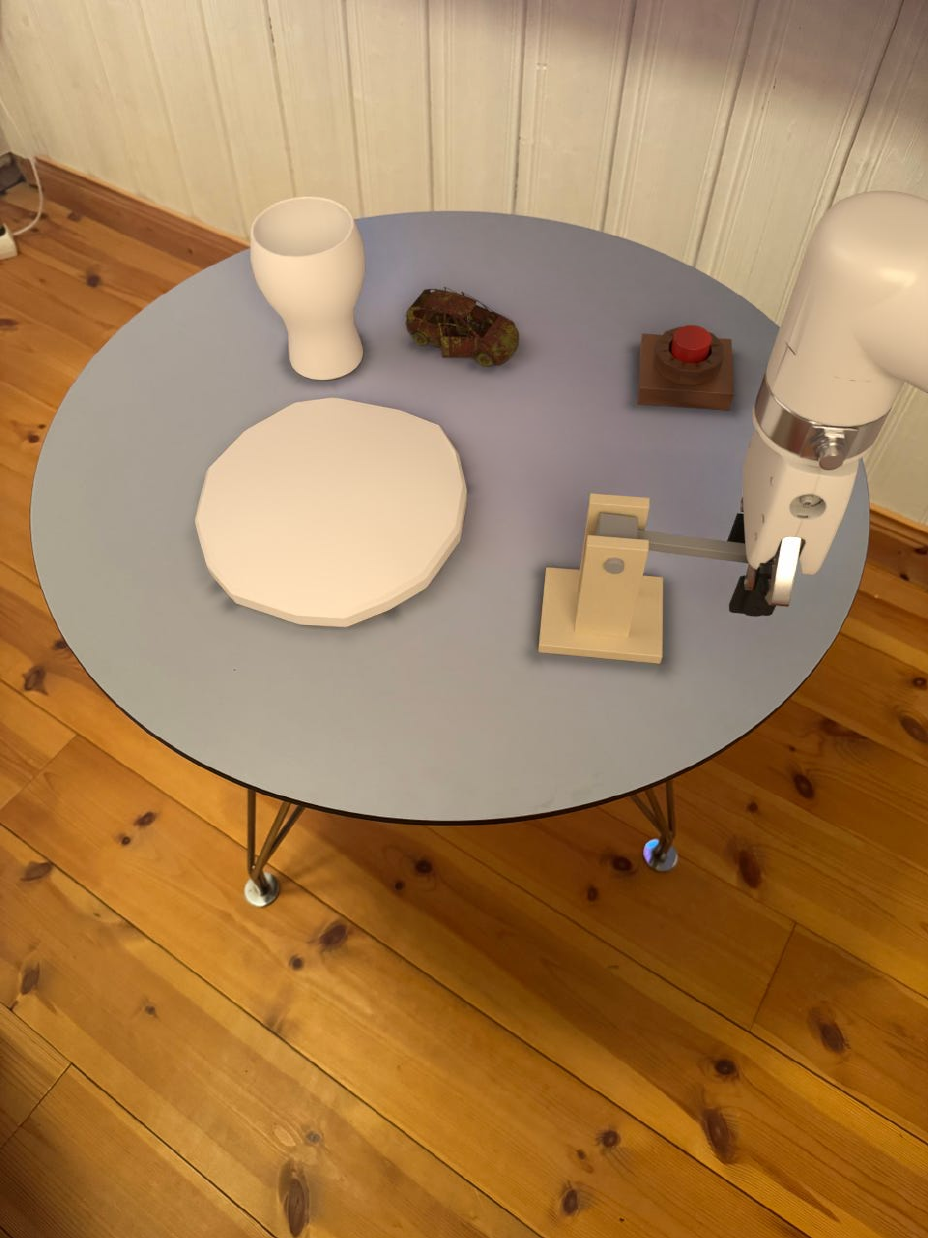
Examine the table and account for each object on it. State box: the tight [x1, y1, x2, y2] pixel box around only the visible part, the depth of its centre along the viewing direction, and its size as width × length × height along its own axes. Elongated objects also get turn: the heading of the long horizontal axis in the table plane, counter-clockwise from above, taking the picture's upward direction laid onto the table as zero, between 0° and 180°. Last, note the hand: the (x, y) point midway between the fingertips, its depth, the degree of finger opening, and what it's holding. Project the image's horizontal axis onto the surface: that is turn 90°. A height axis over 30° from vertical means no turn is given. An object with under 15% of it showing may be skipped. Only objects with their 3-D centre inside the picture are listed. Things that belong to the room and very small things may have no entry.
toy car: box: [405, 286, 520, 368], centre depth 95 cm, size 12×7×5 cm, turn 63°
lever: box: [595, 513, 773, 574], centre depth 69 cm, size 13×5×2 cm, turn 83°
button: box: [671, 324, 711, 363], centre depth 90 cm, size 4×4×2 cm
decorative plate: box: [194, 397, 468, 628], centre depth 83 cm, size 25×4×25 cm
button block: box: [637, 325, 735, 411], centre depth 92 cm, size 9×8×4 cm
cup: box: [249, 195, 367, 381], centre depth 91 cm, size 11×11×15 cm
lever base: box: [537, 492, 664, 665], centre depth 72 cm, size 10×8×13 cm
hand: (748, 578), depth 71 cm, fingers closed on lever, 5 cm apart
